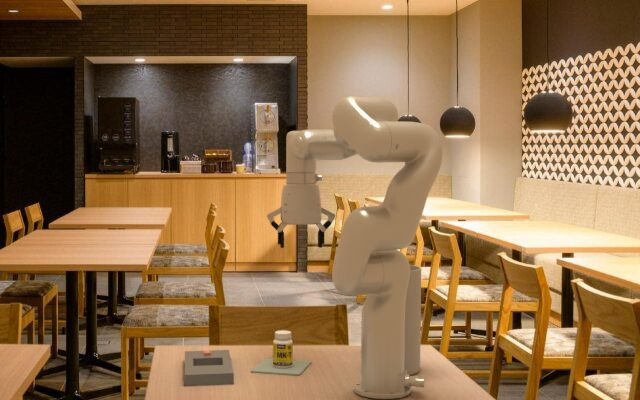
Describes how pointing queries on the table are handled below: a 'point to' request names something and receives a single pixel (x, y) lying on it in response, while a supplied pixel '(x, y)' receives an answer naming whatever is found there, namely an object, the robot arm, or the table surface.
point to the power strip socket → (208, 368)
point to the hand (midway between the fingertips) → (301, 247)
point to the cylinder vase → (413, 322)
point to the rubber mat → (268, 368)
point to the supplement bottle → (282, 349)
